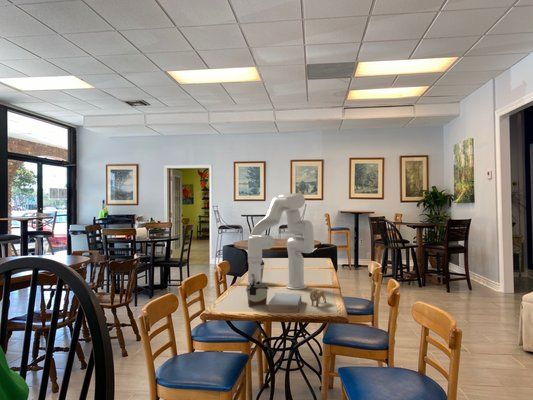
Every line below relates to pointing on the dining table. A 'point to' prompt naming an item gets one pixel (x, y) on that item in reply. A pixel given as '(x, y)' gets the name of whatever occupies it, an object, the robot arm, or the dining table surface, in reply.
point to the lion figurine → (317, 297)
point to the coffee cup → (261, 270)
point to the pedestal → (285, 303)
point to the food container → (257, 295)
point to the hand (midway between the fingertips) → (255, 292)
